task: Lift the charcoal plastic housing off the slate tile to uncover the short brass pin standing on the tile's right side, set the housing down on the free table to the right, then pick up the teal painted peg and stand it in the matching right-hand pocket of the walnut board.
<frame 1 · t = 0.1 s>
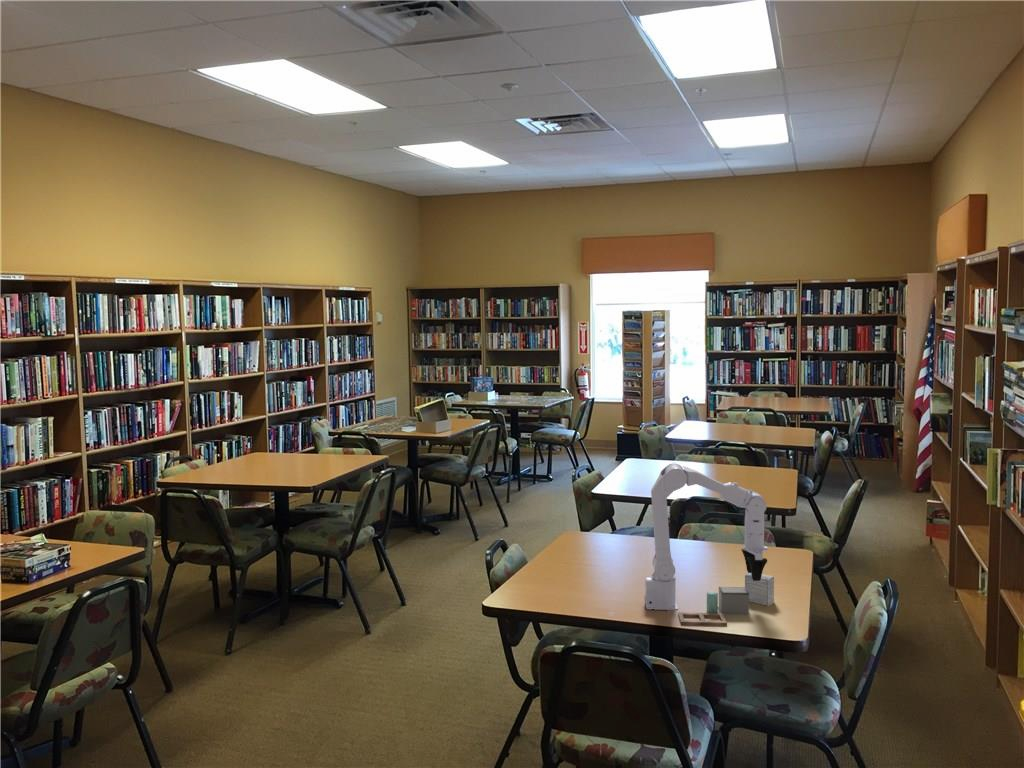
hand: (753, 576, 244), 10 cm above the table, tool pointing down, fingers open, 7 cm apart
walnut board: (702, 621, 234), on the table
medicine box: (759, 603, 250), on the table
housing: (733, 610, 242), resting on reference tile
teal peg: (712, 612, 242), on the table
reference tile: (733, 611, 242), on the table
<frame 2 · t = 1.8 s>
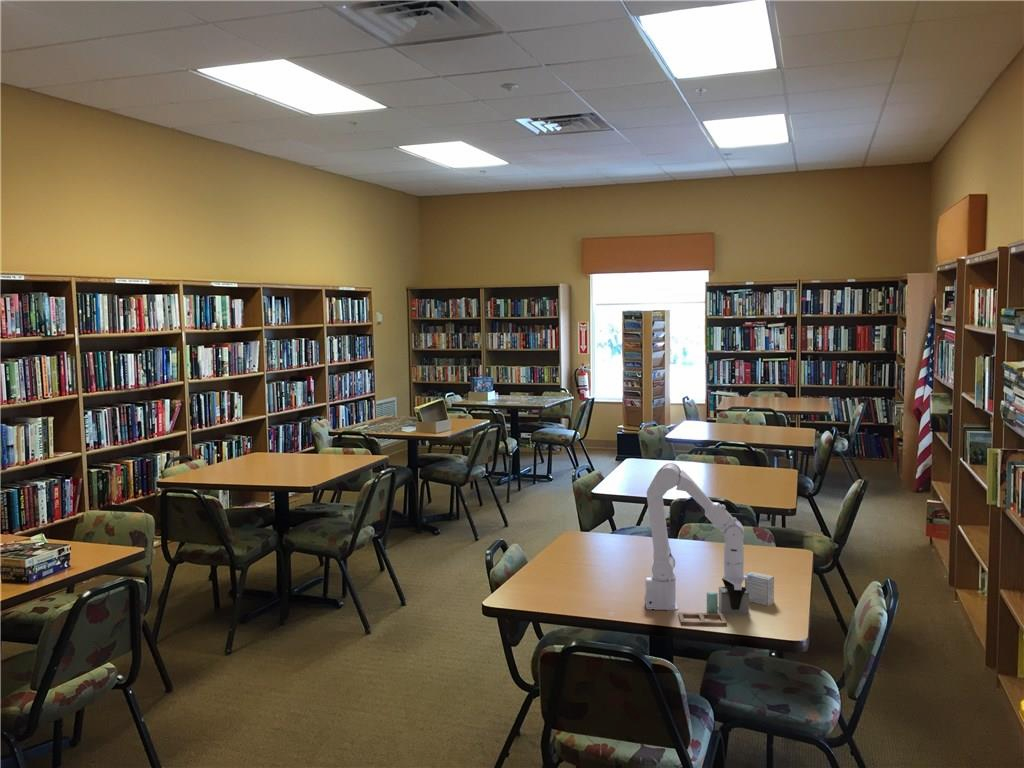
hand: (733, 605, 242), 2 cm above the table, tool pointing down, fingers closed on housing, 5 cm apart
housing: (733, 610, 242), resting on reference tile, touching gripper
everything else where it was.
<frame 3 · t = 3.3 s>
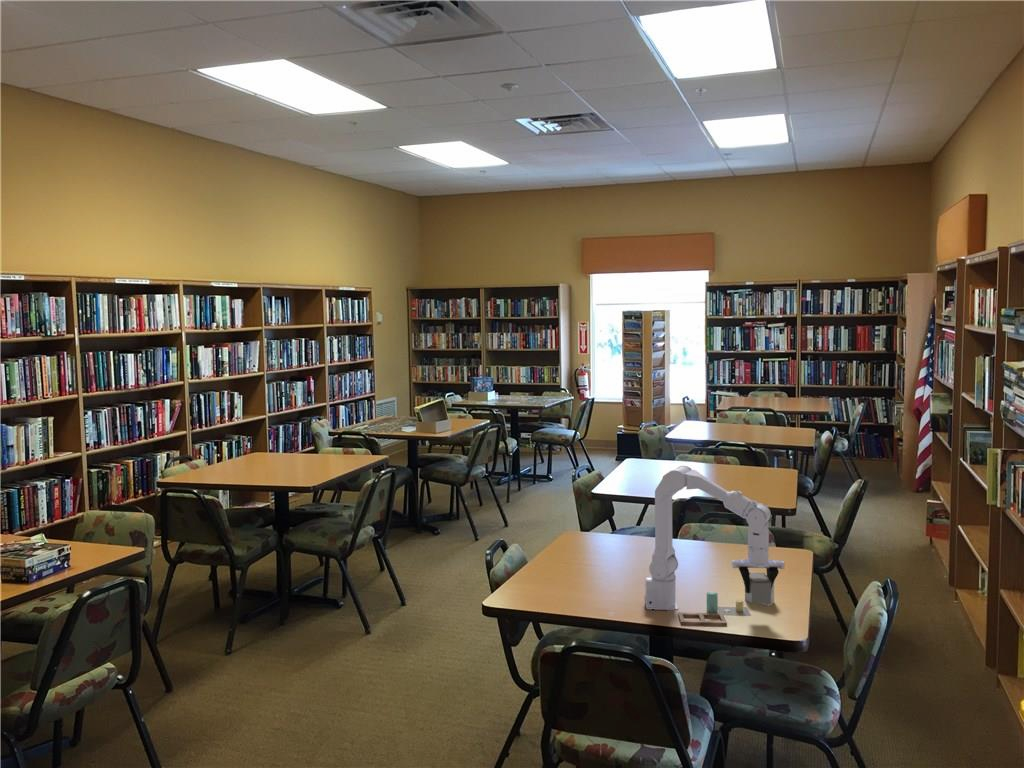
hand: (757, 592, 233), 9 cm above the table, tool pointing down, fingers closed on housing, 5 cm apart
housing: (757, 598, 233), point 7 cm above the table, touching gripper
everything else where it was.
when the fingers open (3 cm above the table, at t = 5.0 s): housing stays where it is, on the table.
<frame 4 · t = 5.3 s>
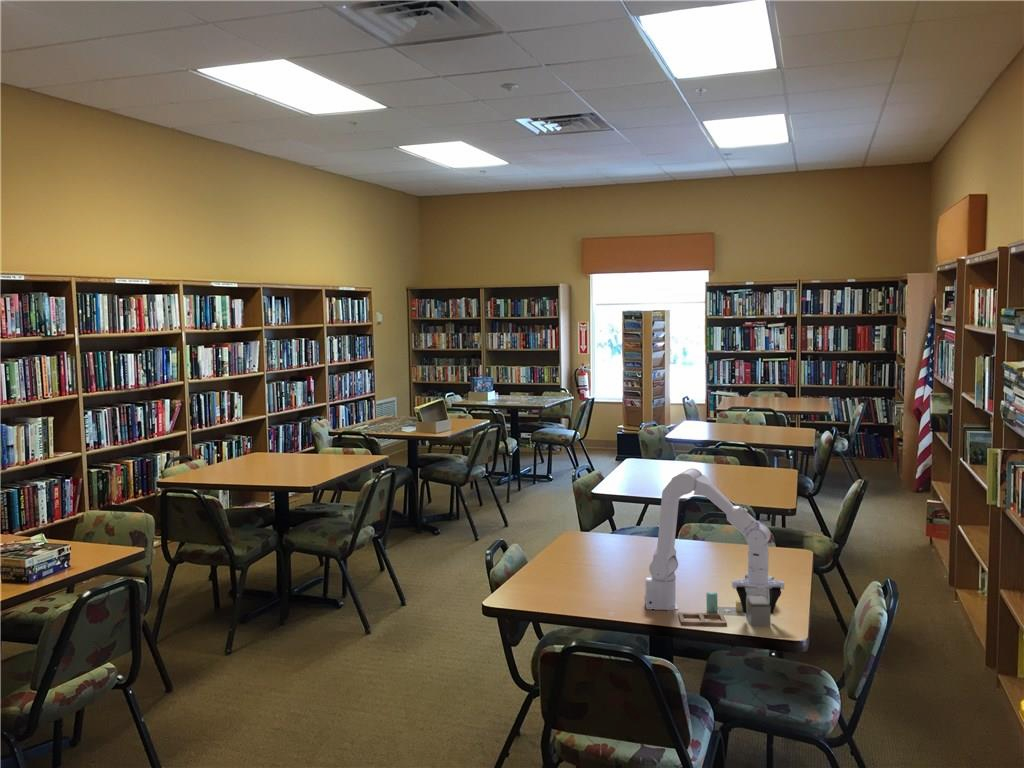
hand: (757, 612, 233), 3 cm above the table, tool pointing down, fingers open, 7 cm apart
housing: (757, 622, 233), on the table
everything else where it was.
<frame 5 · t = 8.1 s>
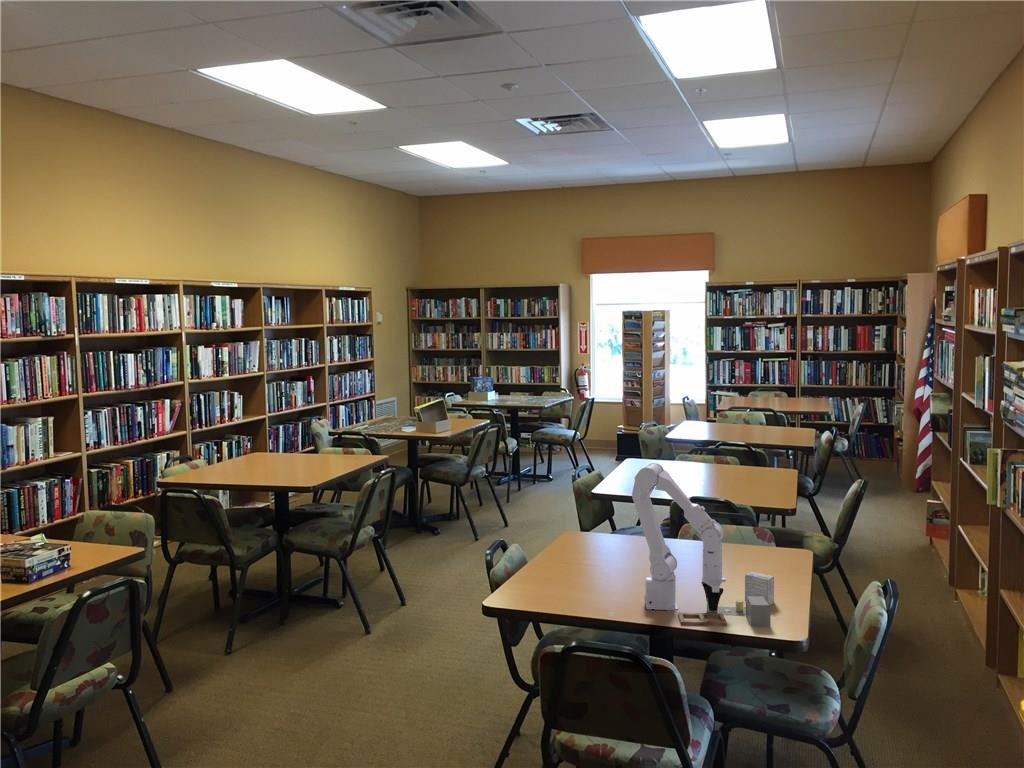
hand: (712, 608, 241), 1 cm above the table, tool pointing down, fingers closed on teal peg, 3 cm apart
teal peg: (712, 612, 241), on the table, touching gripper
everything else where it was.
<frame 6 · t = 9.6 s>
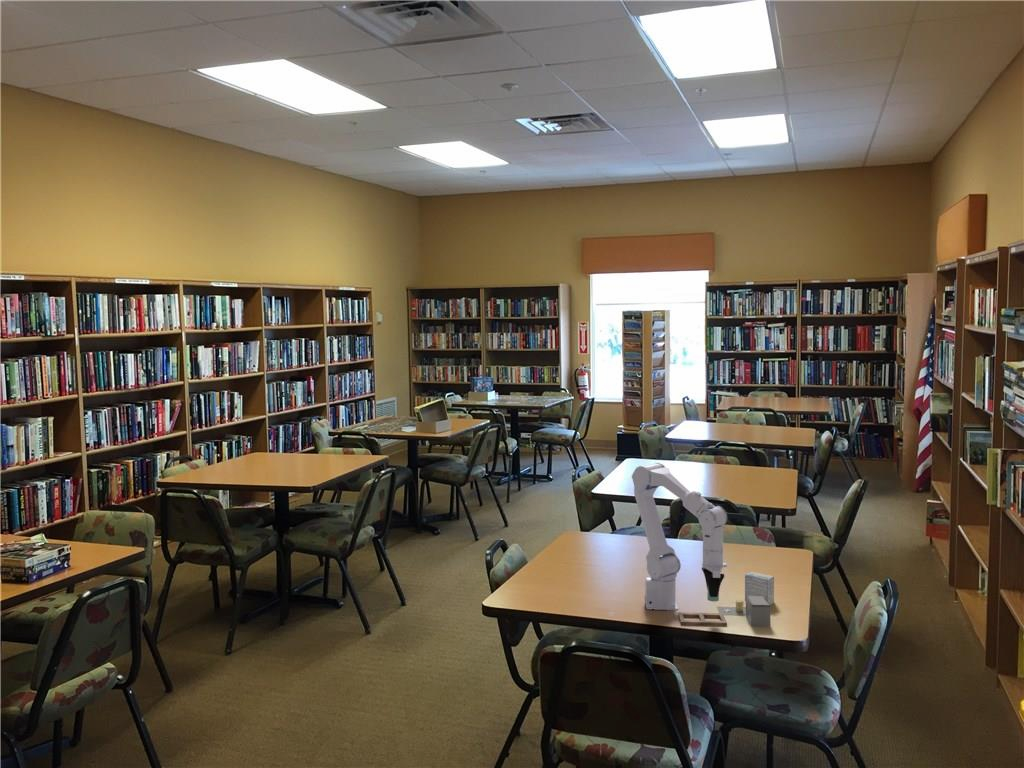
hand: (712, 594, 234), 8 cm above the table, tool pointing down, fingers closed on teal peg, 3 cm apart
teal peg: (713, 599, 234), point 7 cm above the table, touching gripper
everything else where it was.
when the fingers open (2 cm above the table, at t = 10.9 s): teal peg stays where it is, resting in walnut board.
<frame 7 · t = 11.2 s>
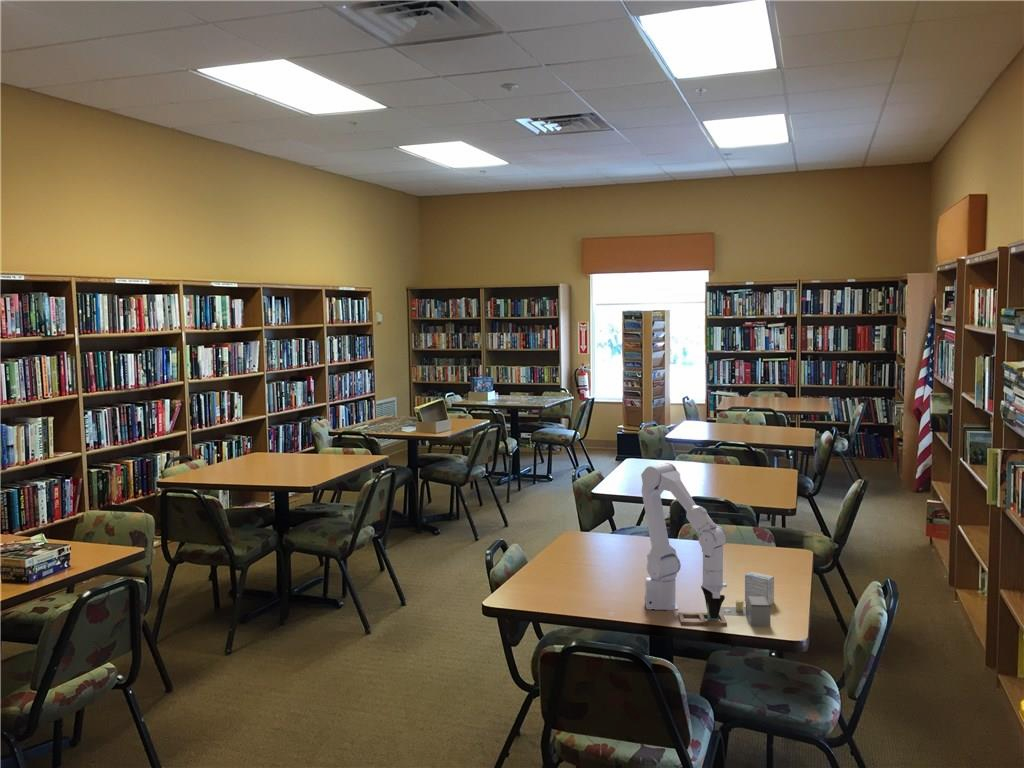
hand: (712, 614, 234), 2 cm above the table, tool pointing down, fingers open, 5 cm apart
teal peg: (712, 621, 234), resting in walnut board
everything else where it was.
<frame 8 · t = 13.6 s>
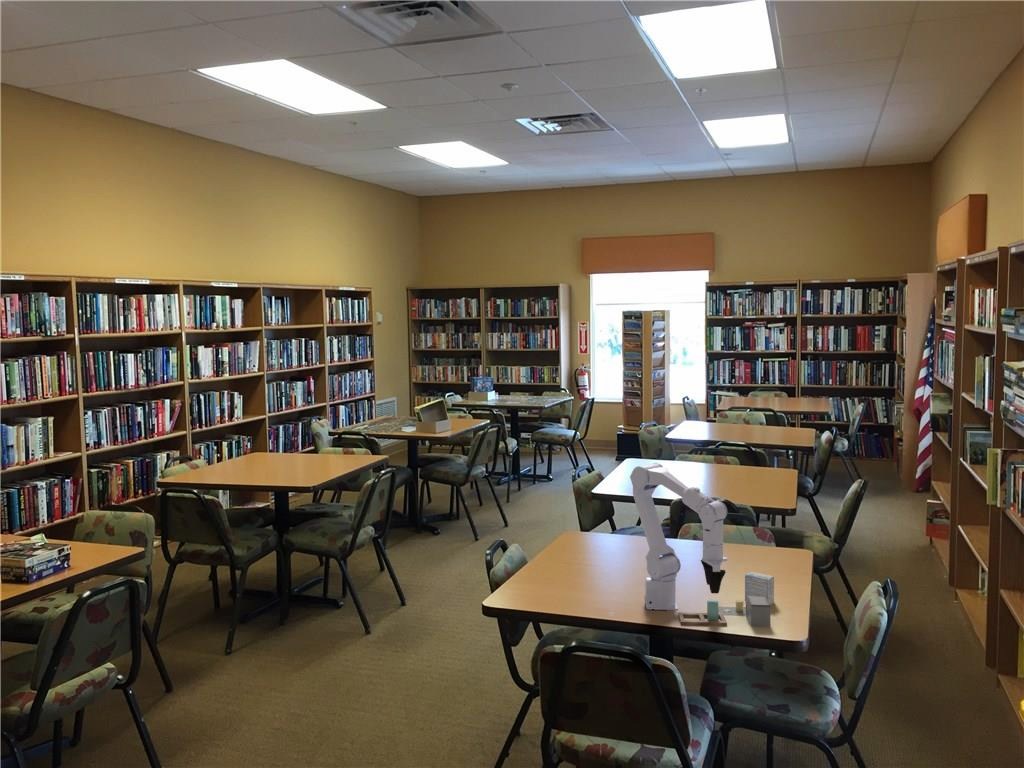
hand: (712, 588, 233), 10 cm above the table, tool pointing down, fingers open, 7 cm apart
nothing on the table moved.
at the end: teal peg 0.1 cm from the target spot on the walnut board, point 0.0 cm above the walnut board's base; teal peg tilted 1°; housing moved 9.8 cm from its start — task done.
